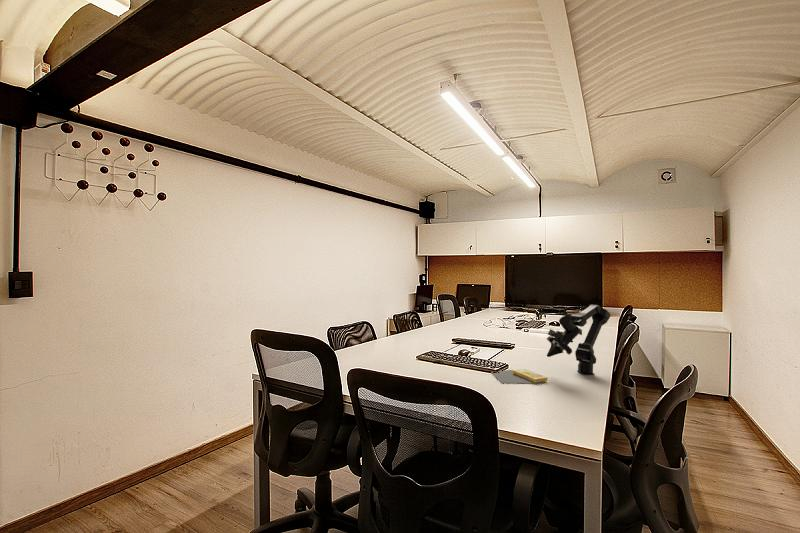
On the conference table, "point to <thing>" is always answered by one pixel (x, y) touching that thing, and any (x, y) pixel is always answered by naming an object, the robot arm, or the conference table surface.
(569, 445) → the conference table surface
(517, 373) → the candy box
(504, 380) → the mat
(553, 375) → the conference table surface
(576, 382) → the conference table surface
